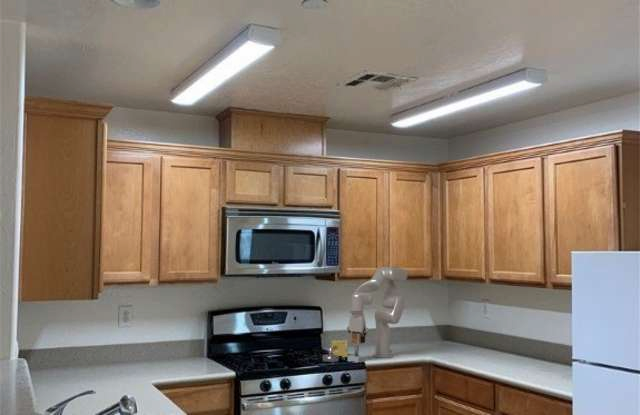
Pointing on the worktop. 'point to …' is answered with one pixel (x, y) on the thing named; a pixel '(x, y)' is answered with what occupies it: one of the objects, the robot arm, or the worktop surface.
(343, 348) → the cheese
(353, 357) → the stand
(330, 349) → the hub
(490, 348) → the worktop surface
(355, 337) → the brown box
